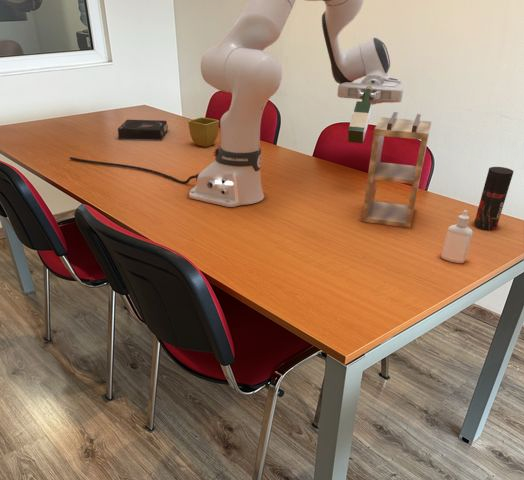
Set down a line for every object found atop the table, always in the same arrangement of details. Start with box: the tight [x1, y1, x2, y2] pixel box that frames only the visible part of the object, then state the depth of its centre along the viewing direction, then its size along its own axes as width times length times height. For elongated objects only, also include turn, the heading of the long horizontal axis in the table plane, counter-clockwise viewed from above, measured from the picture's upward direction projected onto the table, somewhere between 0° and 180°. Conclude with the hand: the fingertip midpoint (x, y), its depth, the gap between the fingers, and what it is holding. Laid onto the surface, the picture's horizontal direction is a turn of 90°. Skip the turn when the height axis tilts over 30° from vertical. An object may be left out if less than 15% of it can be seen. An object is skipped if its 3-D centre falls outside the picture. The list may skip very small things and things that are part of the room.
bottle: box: [347, 86, 373, 144], centre depth 154 cm, size 20×4×4 cm, turn 162°
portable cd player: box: [117, 119, 169, 142], centre depth 211 cm, size 16×17×4 cm
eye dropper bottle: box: [440, 209, 474, 264], centre depth 119 cm, size 4×6×12 cm
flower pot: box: [187, 116, 220, 148], centre depth 199 cm, size 9×9×9 cm
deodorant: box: [473, 166, 514, 231], centre depth 136 cm, size 6×6×15 cm
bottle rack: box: [361, 111, 432, 229], centre depth 138 cm, size 13×14×26 cm
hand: (366, 96), depth 156 cm, fingers closed on bottle, 2 cm apart
